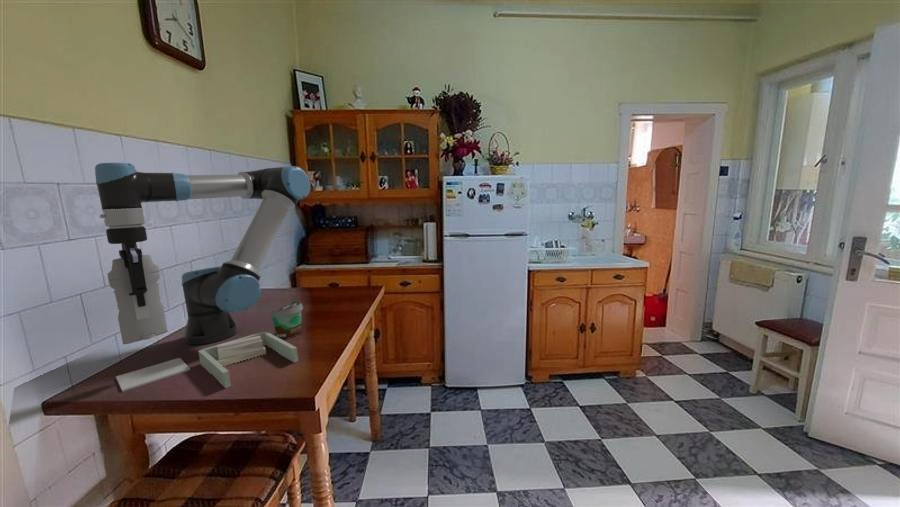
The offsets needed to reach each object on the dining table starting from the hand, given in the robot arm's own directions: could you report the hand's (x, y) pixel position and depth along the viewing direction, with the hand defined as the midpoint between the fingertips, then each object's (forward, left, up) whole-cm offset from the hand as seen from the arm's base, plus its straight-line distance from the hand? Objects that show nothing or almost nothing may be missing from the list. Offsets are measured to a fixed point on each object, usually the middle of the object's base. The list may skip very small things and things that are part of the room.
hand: (142, 316), depth 96 cm
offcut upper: (+8, +19, -14) cm, 25 cm away
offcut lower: (+8, +19, -17) cm, 27 cm away
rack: (+14, +19, -16) cm, 29 cm away
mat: (0, 0, -16) cm, 16 cm away
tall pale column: (0, 0, -6) cm, 6 cm away
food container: (+3, +37, -16) cm, 41 cm away
